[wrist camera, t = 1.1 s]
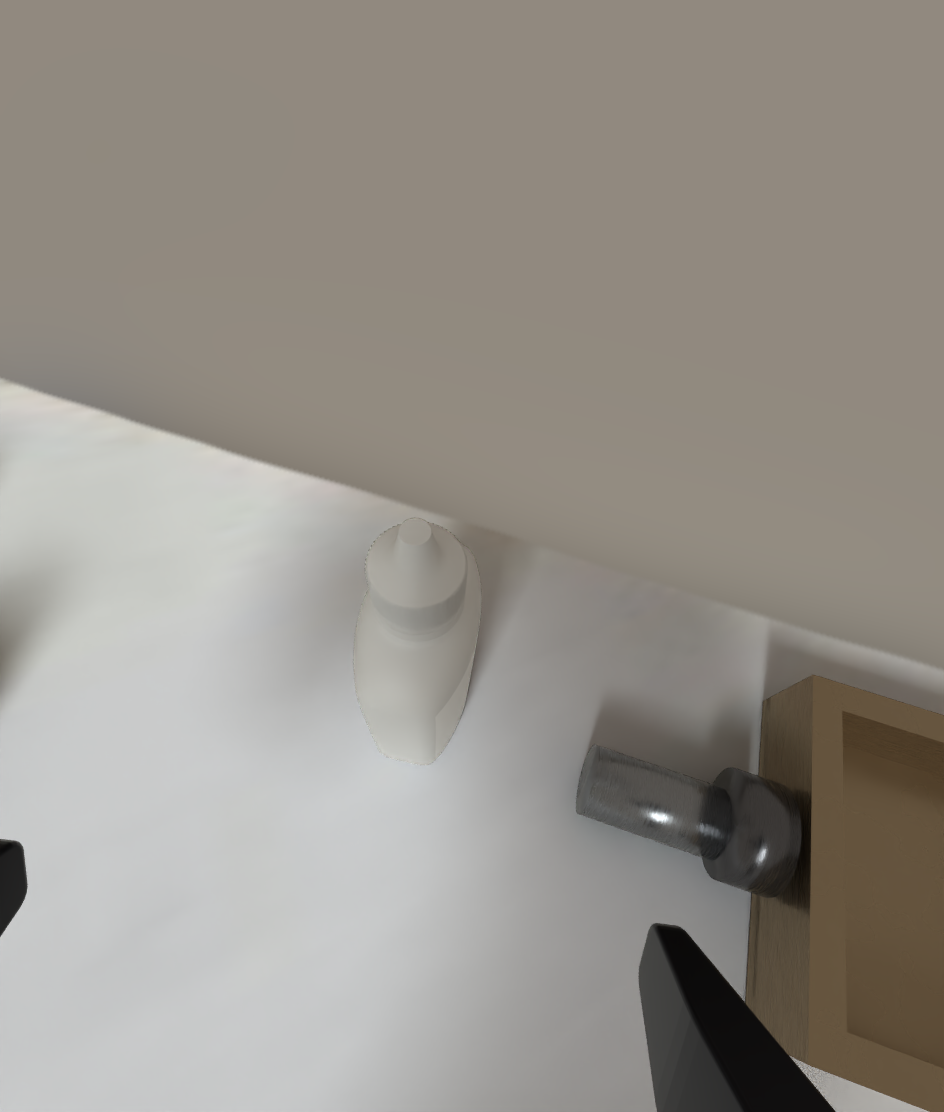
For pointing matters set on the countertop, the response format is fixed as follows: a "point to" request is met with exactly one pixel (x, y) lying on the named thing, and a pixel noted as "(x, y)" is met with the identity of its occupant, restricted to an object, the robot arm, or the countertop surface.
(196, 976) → the countertop surface
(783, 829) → the input shaft
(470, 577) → the white bottle
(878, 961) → the square brown wooden tray
